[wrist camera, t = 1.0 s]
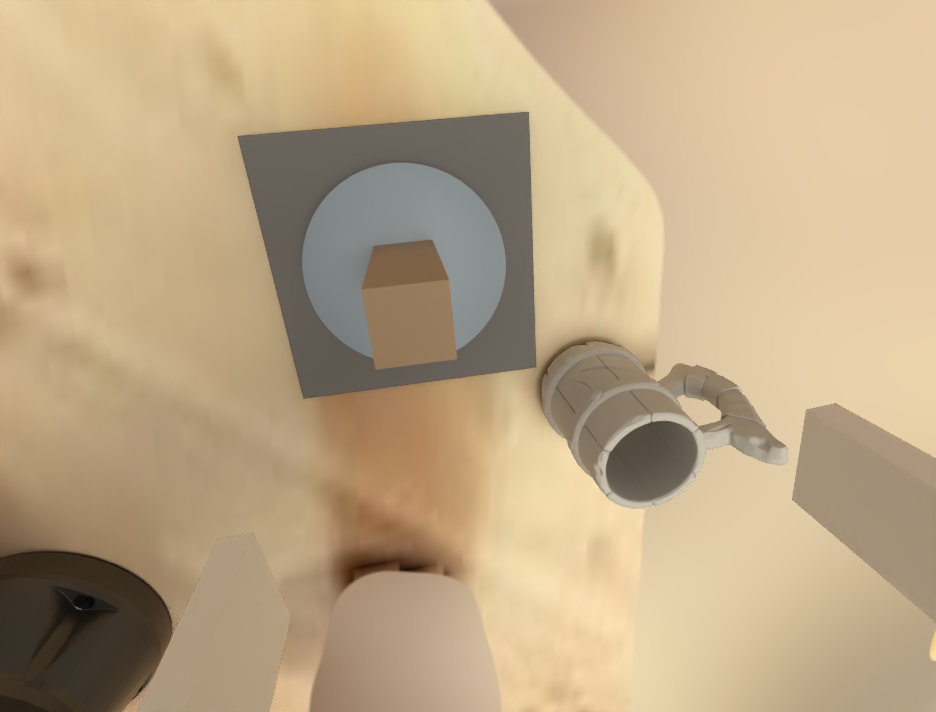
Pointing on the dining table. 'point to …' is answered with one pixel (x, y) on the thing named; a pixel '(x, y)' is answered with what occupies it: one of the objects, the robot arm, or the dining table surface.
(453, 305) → the lid
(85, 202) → the dining table surface
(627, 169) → the dining table surface
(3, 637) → the robot arm
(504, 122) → the mat
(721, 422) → the mug
